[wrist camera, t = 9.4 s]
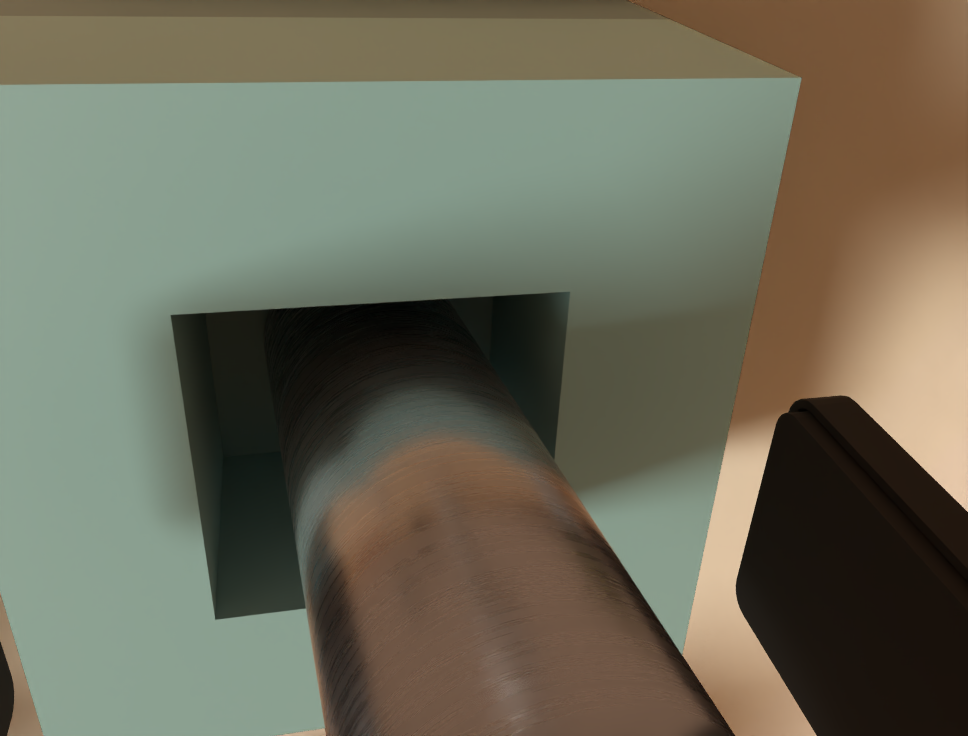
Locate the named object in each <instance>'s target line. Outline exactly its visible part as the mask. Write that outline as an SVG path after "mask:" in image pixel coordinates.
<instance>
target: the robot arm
mask: <svg viewBox="0 0 968 736" xmlns="http://www.w3.org/2000/svg"><path fill="white" fill-rule="evenodd" d="M736 595H737V601H738V604H739V607H740V609H741V611H742V613H743V615H744V617H745V619H746V620H747V622H748V623H749V625H750V627H751V628H752V630H753V632H754V633H755V635H756V637H757V638H758V640H759V641H760V643H761V645H762V646H763V648H764V650H765V651H766V653H767V655H768V656H769V658H770V660H771V661H772V663H773V664H774V666H775V668H776V669H777V671H778V673H779V674H780V676H781V678H782V679H783V681H784V682H785V684H786V686H787V687H788V689H789V691H790V692H791V694H792V696H793V697H794V699H795V700H796V702H797V704H798V705H799V707H800V709H801V710H802V712H803V714H804V715H805V717H806V719H807V720H808V722H809V723H810V725H811V727H812V728H813V730H814V732H815V733H816V735H817V736H968V512H967V511H966V510H965V509H964V508H963V507H962V506H961V505H960V504H959V503H958V502H957V501H956V500H955V499H954V498H953V497H952V496H951V495H950V494H949V493H948V492H947V491H946V490H945V489H944V488H943V487H942V486H941V485H940V484H939V483H938V482H937V481H936V480H935V479H934V478H933V477H932V476H930V475H929V474H928V473H927V472H926V471H925V470H924V469H923V468H922V467H921V466H920V465H919V464H918V463H917V462H916V461H915V460H914V459H913V458H912V457H911V456H910V455H909V454H908V453H907V452H906V451H905V450H904V449H903V448H902V447H901V446H900V445H899V444H898V443H897V442H896V441H895V440H894V439H893V438H892V437H891V436H890V435H889V434H888V433H887V432H886V431H885V430H884V429H883V428H882V427H881V426H880V425H879V424H878V423H877V422H876V421H875V420H874V419H873V418H872V417H871V416H870V415H869V414H867V413H866V412H865V411H864V410H863V409H862V408H861V407H860V406H859V405H858V404H857V403H856V402H855V401H854V400H852V399H851V398H850V397H847V396H831V397H820V398H809V399H800V400H798V401H795V402H794V404H793V405H792V406H791V407H790V410H789V412H788V413H785V414H782V415H781V416H780V417H779V419H778V421H777V424H776V427H775V431H774V435H773V439H772V443H771V447H770V450H769V454H768V458H767V462H766V466H765V470H764V474H763V478H762V482H761V486H760V490H759V494H758V498H757V502H756V506H755V509H754V513H753V517H752V521H751V525H750V529H749V533H748V537H747V541H746V545H745V549H744V553H743V557H742V561H741V564H740V568H739V572H738V576H737V581H736ZM13 705H14V687H13V680H12V676H11V673H10V670H9V667H8V664H7V661H6V658H5V654H4V651H3V648H2V645H1V642H0V736H7V733H8V729H9V725H10V721H11V718H12V712H13Z"/></svg>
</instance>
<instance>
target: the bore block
mask: <svg viewBox="0 0 968 736" xmlns="http://www.w3.org/2000/svg"><path fill="white" fill-rule="evenodd" d="M801 79H802V78H801V77H799V76H797V75H794V74H792V73H790V72H788V71H785V70H783V69H781V68H779V67H776V66H774V65H772V64H770V63H767V62H765V61H763V60H761V59H758V58H756V57H754V56H752V55H749V54H747V53H745V52H743V51H740V50H738V49H736V48H734V47H731V46H729V45H727V44H725V43H722V42H720V41H718V40H716V39H713V38H711V37H709V36H706V35H704V34H702V33H700V32H697V31H695V30H693V29H691V28H688V27H686V26H684V25H682V24H679V23H677V22H675V21H673V20H670V19H668V18H666V17H664V16H661V15H659V14H657V13H655V12H652V11H650V10H648V9H646V8H643V7H641V6H639V5H637V4H634V3H632V2H630V1H628V0H0V593H1V597H2V600H3V603H4V607H5V610H6V613H7V616H8V620H9V623H10V626H11V630H12V633H13V636H14V640H15V643H16V646H17V650H18V653H19V656H20V660H21V663H22V666H23V669H24V673H25V676H26V679H27V683H28V686H29V689H30V693H31V696H32V699H33V703H34V706H35V709H36V713H37V716H38V719H39V722H40V726H41V729H42V732H43V736H276V735H283V734H289V733H296V732H303V731H309V730H316V729H322V728H325V725H324V718H323V712H322V706H321V700H320V693H319V687H318V681H317V675H316V668H315V662H314V656H313V650H312V643H311V637H310V631H309V625H308V618H307V612H306V606H305V600H304V593H303V587H302V581H301V575H300V568H299V562H298V556H297V550H296V543H295V537H294V531H293V525H292V518H291V512H290V506H289V500H288V493H287V487H286V481H285V475H284V468H283V462H282V456H281V450H280V444H279V437H278V431H277V425H276V419H275V412H274V406H273V400H272V394H271V387H270V381H269V375H268V369H267V362H266V356H265V350H264V328H265V321H266V318H267V314H268V311H269V309H281V308H298V307H316V306H333V305H350V304H367V303H384V302H401V301H418V300H435V299H449V301H450V302H451V304H452V305H453V307H454V308H455V310H456V312H457V313H458V315H459V316H460V318H461V319H462V321H463V322H464V324H465V325H466V327H467V328H468V330H469V331H470V333H471V334H472V336H473V337H474V339H475V340H476V342H477V344H478V345H479V347H480V348H481V350H482V351H483V353H484V354H485V356H486V357H487V359H488V360H489V362H490V363H491V365H492V366H493V368H494V369H495V371H496V372H497V374H498V375H499V377H500V379H501V380H502V382H503V383H504V385H505V386H506V388H507V389H508V391H509V392H510V394H511V395H512V397H513V398H514V400H515V401H516V403H517V404H518V406H519V407H520V409H521V411H522V412H523V414H524V415H525V417H526V418H527V420H528V421H529V423H530V424H531V426H532V427H533V429H534V430H535V432H536V433H537V435H538V436H539V438H540V439H541V441H542V443H543V444H544V446H545V447H546V449H547V450H548V452H549V453H550V455H551V456H552V458H553V459H554V461H555V462H556V464H557V465H558V467H559V468H560V470H561V471H562V473H563V474H564V476H565V478H566V479H567V481H568V482H569V484H570V485H571V487H572V488H573V490H574V491H575V493H576V494H577V496H578V497H579V499H580V500H581V502H582V503H583V505H584V506H585V508H586V510H587V511H588V513H589V514H590V516H591V517H592V519H593V520H594V522H595V523H596V525H597V526H598V528H599V529H600V531H601V532H602V534H603V535H604V537H605V538H606V540H607V542H608V543H609V545H610V546H611V548H612V549H613V551H614V552H615V554H616V555H617V557H618V558H619V560H620V561H621V563H622V564H623V566H624V567H625V569H626V570H627V572H628V574H629V575H630V577H631V578H632V580H633V581H634V583H635V584H636V586H637V587H638V589H639V590H640V592H641V593H642V595H643V596H644V598H645V599H646V601H647V602H648V604H649V605H650V607H651V609H652V610H653V612H654V613H655V615H656V616H657V618H658V619H659V621H660V622H661V624H662V625H663V627H664V628H665V630H666V631H667V633H668V634H669V636H670V637H671V639H672V641H673V642H674V644H675V645H676V647H677V648H678V650H679V651H680V653H681V654H682V653H683V648H684V643H685V639H686V634H687V629H688V624H689V619H690V614H691V610H692V605H693V600H694V595H695V590H696V586H697V581H698V576H699V571H700V566H701V561H702V557H703V552H704V547H705V542H706V537H707V532H708V528H709V523H710V518H711V513H712V508H713V503H714V499H715V494H716V489H717V484H718V479H719V474H720V470H721V465H722V460H723V455H724V450H725V445H726V441H727V436H728V431H729V426H730V421H731V417H732V412H733V407H734V402H735V397H736V392H737V388H738V383H739V378H740V373H741V368H742V363H743V359H744V354H745V349H746V344H747V339H748V334H749V330H750V325H751V320H752V315H753V310H754V305H755V301H756V296H757V291H758V286H759V281H760V277H761V272H762V267H763V262H764V257H765V252H766V248H767V243H768V238H769V233H770V228H771V223H772V219H773V214H774V209H775V204H776V199H777V194H778V190H779V185H780V180H781V175H782V170H783V165H784V161H785V156H786V151H787V146H788V141H789V137H790V132H791V127H792V122H793V117H794V112H795V108H796V103H797V98H798V93H799V88H800V83H801Z"/></svg>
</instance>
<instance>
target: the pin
mask: <svg viewBox="0 0 968 736" xmlns="http://www.w3.org/2000/svg"><path fill="white" fill-rule="evenodd" d="M264 350H265V356H266V362H267V369H268V375H269V381H270V387H271V394H272V400H273V406H274V412H275V419H276V425H277V431H278V437H279V444H280V450H281V456H282V462H283V468H284V475H285V481H286V487H287V493H288V500H289V506H290V512H291V518H292V525H293V531H294V537H295V543H296V550H297V556H298V562H299V568H300V575H301V581H302V587H303V593H304V600H305V606H306V612H307V618H308V625H309V631H310V637H311V643H312V650H313V656H314V662H315V668H316V675H317V681H318V687H319V693H320V700H321V706H322V712H323V718H324V725H325V731H326V736H735V735H734V733H733V732H732V730H731V729H730V727H729V726H728V724H727V723H726V721H725V720H724V718H723V717H722V715H721V714H720V712H719V711H718V709H717V708H716V706H715V704H714V703H713V701H712V700H711V698H710V697H709V695H708V694H707V692H706V691H705V689H704V688H703V686H702V685H701V683H700V682H699V680H698V679H697V677H696V676H695V674H694V673H693V671H692V669H691V668H690V666H689V665H688V663H687V662H686V660H685V659H684V657H683V656H682V654H681V653H680V651H679V650H678V648H677V647H676V645H675V644H674V642H673V641H672V639H671V637H670V636H669V634H668V633H667V631H666V630H665V628H664V627H663V625H662V624H661V622H660V621H659V619H658V618H657V616H656V615H655V613H654V612H653V610H652V609H651V607H650V605H649V604H648V602H647V601H646V599H645V598H644V596H643V595H642V593H641V592H640V590H639V589H638V587H637V586H636V584H635V583H634V581H633V580H632V578H631V577H630V575H629V574H628V572H627V570H626V569H625V567H624V566H623V564H622V563H621V561H620V560H619V558H618V557H617V555H616V554H615V552H614V551H613V549H612V548H611V546H610V545H609V543H608V542H607V540H606V538H605V537H604V535H603V534H602V532H601V531H600V529H599V528H598V526H597V525H596V523H595V522H594V520H593V519H592V517H591V516H590V514H589V513H588V511H587V510H586V508H585V506H584V505H583V503H582V502H581V500H580V499H579V497H578V496H577V494H576V493H575V491H574V490H573V488H572V487H571V485H570V484H569V482H568V481H567V479H566V478H565V476H564V474H563V473H562V471H561V470H560V468H559V467H558V465H557V464H556V462H555V461H554V459H553V458H552V456H551V455H550V453H549V452H548V450H547V449H546V447H545V446H544V444H543V443H542V441H541V439H540V438H539V436H538V435H537V433H536V432H535V430H534V429H533V427H532V426H531V424H530V423H529V421H528V420H527V418H526V417H525V415H524V414H523V412H522V411H521V409H520V407H519V406H518V404H517V403H516V401H515V400H514V398H513V397H512V395H511V394H510V392H509V391H508V389H507V388H506V386H505V385H504V383H503V382H502V380H501V379H500V377H499V375H498V374H497V372H496V371H495V369H494V368H493V366H492V365H491V363H490V362H489V360H488V359H487V357H486V356H485V354H484V353H483V351H482V350H481V348H480V347H479V345H478V344H477V342H476V340H475V339H474V337H473V336H472V334H471V333H470V331H469V330H468V328H467V327H466V325H465V324H464V322H463V321H462V319H461V318H460V316H459V315H458V313H457V312H456V310H455V308H454V307H453V305H452V304H451V302H450V301H449V299H435V300H418V301H401V302H384V303H367V304H350V305H333V306H316V307H298V308H281V309H269V311H268V314H267V318H266V321H265V328H264Z"/></svg>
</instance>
